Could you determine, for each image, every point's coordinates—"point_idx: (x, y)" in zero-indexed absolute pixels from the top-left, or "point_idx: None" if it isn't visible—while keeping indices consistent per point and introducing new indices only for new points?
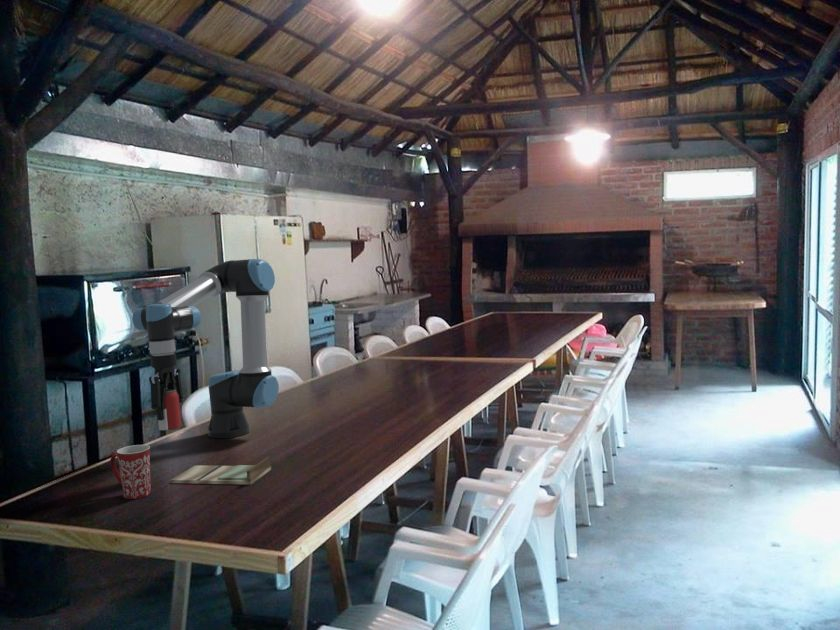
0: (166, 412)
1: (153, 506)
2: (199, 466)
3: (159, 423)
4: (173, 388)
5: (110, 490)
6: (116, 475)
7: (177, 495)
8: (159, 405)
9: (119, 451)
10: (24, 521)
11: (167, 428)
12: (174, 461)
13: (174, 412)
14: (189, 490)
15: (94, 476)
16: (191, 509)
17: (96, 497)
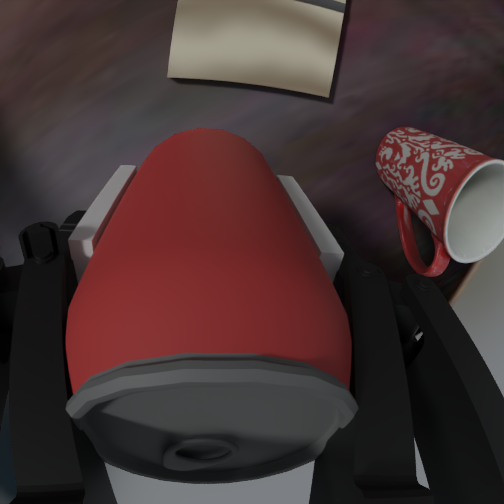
0: (313, 232)
1: (474, 93)
2: (181, 53)
3: None
4: (74, 428)
5: (351, 243)
6: (413, 233)
7: (424, 50)
8: (430, 294)
9: (472, 254)
10: (457, 294)
11: (287, 178)
12: (93, 195)
13: (261, 175)
14: (394, 24)
15: None
16: (492, 14)
17: (391, 248)
